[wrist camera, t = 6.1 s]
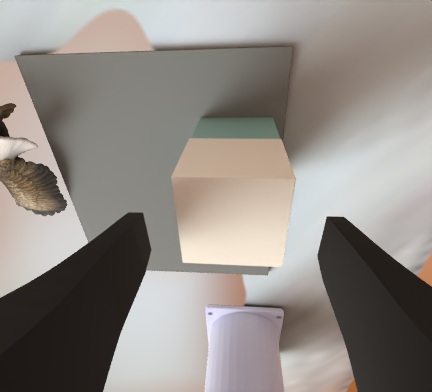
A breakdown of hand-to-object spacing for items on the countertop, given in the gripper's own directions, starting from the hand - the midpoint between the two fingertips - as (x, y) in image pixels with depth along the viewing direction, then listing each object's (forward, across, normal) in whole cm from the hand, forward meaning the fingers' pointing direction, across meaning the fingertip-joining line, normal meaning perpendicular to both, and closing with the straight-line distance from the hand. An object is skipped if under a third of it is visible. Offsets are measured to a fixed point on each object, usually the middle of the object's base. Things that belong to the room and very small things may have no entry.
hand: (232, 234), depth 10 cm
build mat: (+9, +5, +3) cm, 10 cm away
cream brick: (+4, 0, 0) cm, 4 cm away
